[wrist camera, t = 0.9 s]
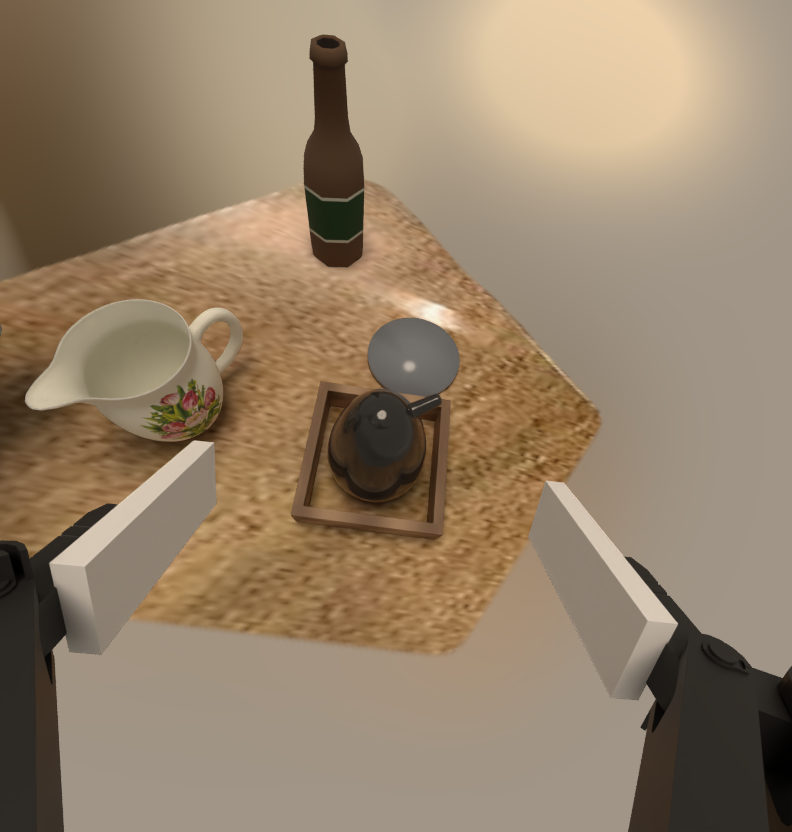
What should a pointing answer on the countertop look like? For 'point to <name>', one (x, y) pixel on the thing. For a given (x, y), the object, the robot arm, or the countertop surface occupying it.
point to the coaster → (413, 357)
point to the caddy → (303, 513)
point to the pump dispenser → (379, 444)
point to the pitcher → (140, 369)
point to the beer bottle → (333, 162)
